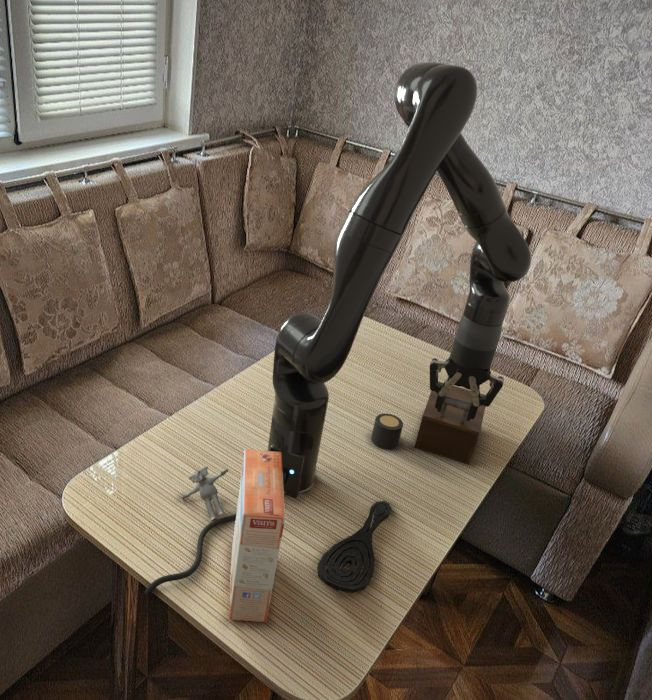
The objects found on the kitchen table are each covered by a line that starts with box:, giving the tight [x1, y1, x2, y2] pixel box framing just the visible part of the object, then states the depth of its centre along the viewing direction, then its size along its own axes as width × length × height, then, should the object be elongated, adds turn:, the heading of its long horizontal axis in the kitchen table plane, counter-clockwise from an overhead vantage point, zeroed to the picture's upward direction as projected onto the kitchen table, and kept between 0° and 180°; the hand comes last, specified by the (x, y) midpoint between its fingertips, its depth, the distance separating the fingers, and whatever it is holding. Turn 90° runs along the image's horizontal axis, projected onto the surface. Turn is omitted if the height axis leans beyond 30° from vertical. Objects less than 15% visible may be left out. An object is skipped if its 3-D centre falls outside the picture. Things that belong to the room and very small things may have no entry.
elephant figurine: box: [180, 466, 229, 522], centre depth 116 cm, size 10×6×9 cm
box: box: [413, 418, 480, 466], centre depth 139 cm, size 14×11×8 cm
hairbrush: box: [316, 500, 392, 594], centre depth 111 cm, size 8×4×25 cm
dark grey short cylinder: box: [370, 413, 404, 450], centre depth 137 cm, size 6×6×5 cm
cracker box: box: [228, 448, 286, 623], centre depth 98 cm, size 14×6×21 cm, turn 179°
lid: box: [421, 381, 486, 436], centre depth 135 cm, size 15×11×5 cm
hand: (454, 414), depth 131 cm, fingers closed on lid, 5 cm apart
